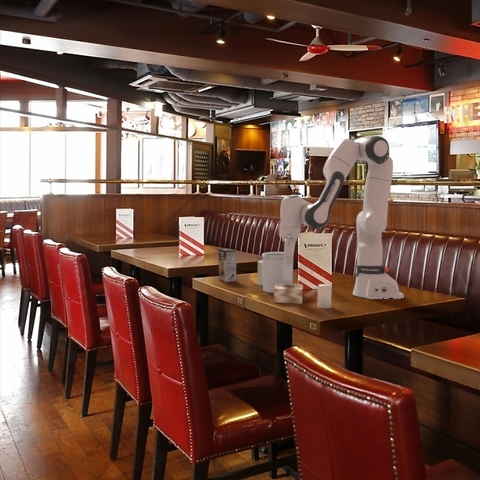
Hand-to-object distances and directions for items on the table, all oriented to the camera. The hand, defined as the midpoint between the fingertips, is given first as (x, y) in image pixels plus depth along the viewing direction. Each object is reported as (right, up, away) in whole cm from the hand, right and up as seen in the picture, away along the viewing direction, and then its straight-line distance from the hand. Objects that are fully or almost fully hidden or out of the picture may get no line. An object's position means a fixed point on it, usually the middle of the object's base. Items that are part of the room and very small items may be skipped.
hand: (288, 264), depth 238 cm
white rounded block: (+14, -17, -11) cm, 24 cm away
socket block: (0, -15, +2) cm, 15 cm away
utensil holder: (-3, -13, +22) cm, 26 cm away
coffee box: (-28, -10, +48) cm, 56 cm away
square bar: (0, -6, +1) cm, 6 cm away
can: (-8, -12, +38) cm, 40 cm away
